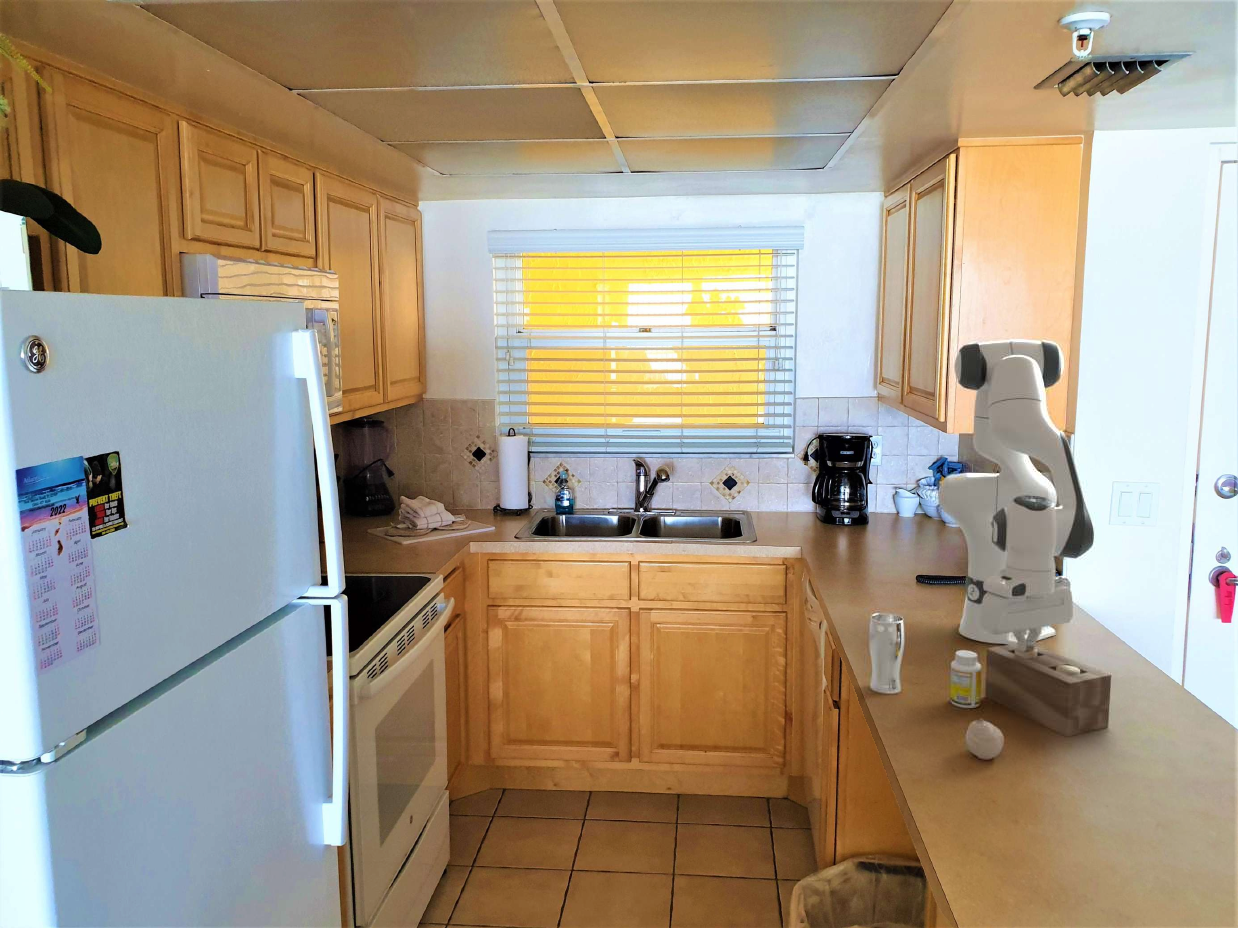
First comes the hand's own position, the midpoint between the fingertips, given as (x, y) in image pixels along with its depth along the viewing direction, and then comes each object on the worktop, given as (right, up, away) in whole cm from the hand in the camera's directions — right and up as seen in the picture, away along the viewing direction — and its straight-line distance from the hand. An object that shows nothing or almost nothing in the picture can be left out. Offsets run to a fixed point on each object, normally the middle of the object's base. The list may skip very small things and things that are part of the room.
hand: (1026, 649), depth 178 cm
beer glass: (-25, -10, +10) cm, 28 cm away
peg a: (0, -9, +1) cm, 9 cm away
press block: (+2, -11, -3) cm, 12 cm away
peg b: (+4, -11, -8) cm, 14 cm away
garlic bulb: (-17, -14, -21) cm, 30 cm away
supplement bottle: (-12, -11, +1) cm, 16 cm away
